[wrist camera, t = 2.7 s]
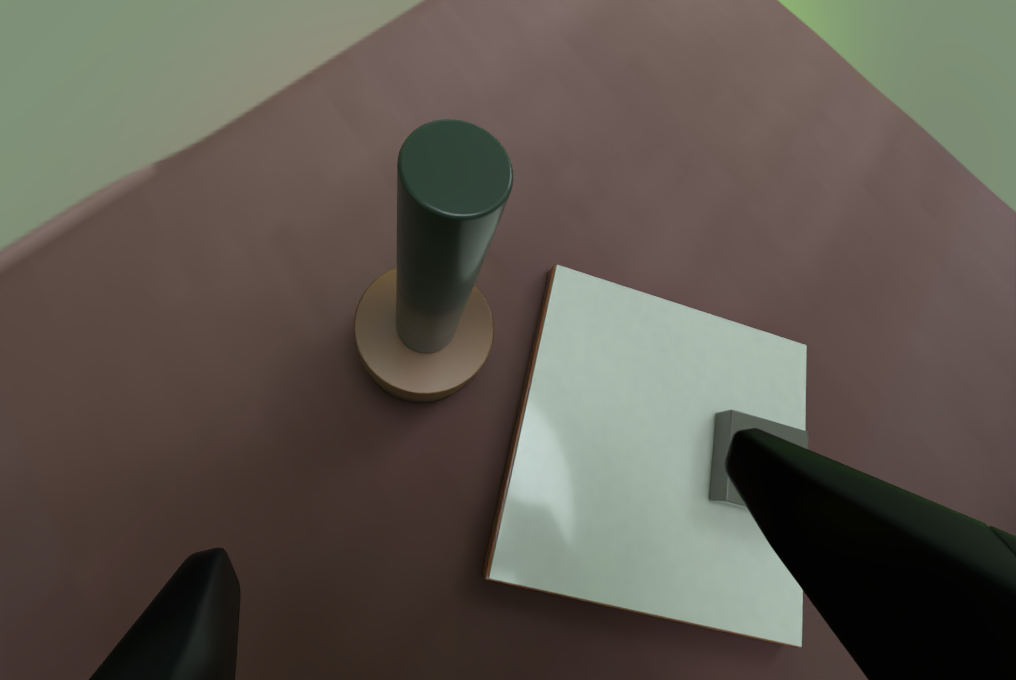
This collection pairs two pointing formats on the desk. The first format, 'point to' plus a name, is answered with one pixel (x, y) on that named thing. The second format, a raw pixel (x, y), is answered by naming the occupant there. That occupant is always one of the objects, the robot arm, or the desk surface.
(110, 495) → the desk surface
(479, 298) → the cylinder on round base
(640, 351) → the white tile
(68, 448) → the desk surface
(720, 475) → the grey square tile
